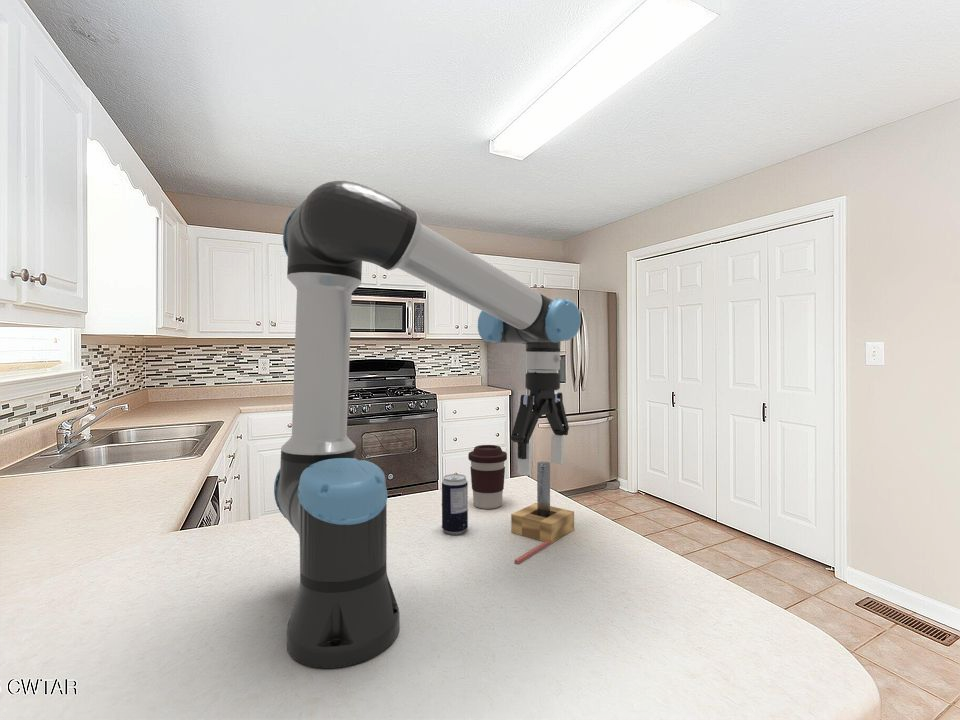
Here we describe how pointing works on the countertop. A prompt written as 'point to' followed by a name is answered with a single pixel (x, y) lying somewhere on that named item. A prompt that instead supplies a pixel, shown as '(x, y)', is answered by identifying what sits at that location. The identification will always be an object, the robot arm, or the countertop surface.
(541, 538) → the wooden square frame
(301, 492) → the robot arm
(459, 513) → the beverage can
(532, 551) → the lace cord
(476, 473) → the coffee cup
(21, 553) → the countertop surface
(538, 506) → the grey capsule rod
